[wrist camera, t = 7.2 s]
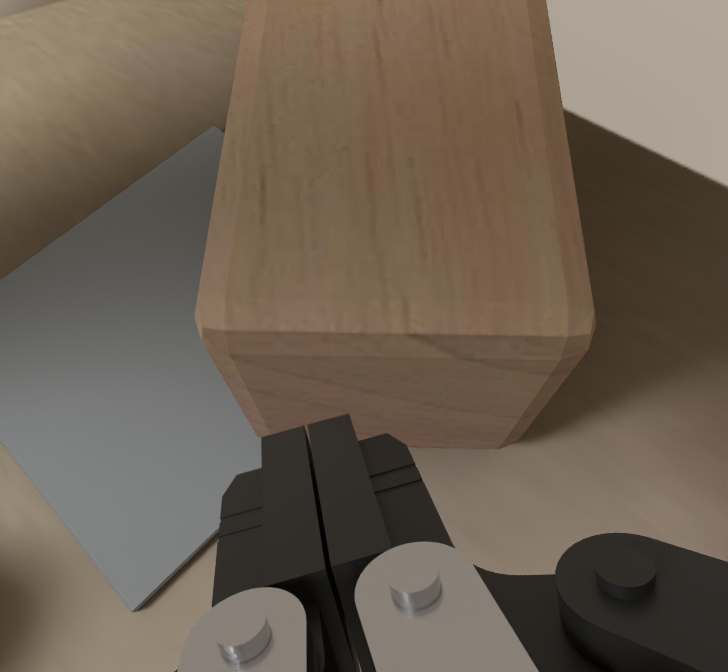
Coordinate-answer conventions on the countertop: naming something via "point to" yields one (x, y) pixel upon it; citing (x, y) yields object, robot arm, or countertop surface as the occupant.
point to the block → (396, 222)
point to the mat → (125, 378)
